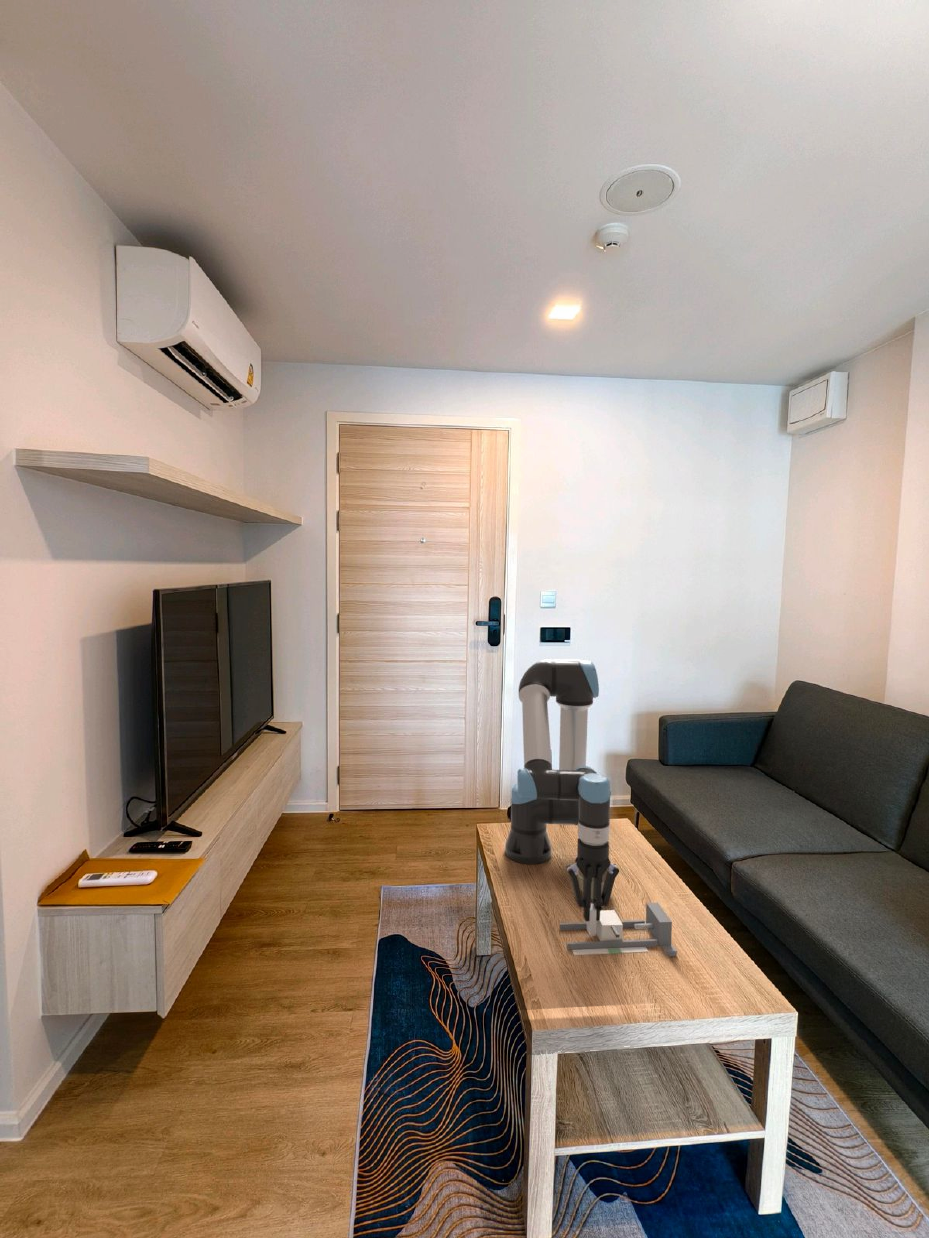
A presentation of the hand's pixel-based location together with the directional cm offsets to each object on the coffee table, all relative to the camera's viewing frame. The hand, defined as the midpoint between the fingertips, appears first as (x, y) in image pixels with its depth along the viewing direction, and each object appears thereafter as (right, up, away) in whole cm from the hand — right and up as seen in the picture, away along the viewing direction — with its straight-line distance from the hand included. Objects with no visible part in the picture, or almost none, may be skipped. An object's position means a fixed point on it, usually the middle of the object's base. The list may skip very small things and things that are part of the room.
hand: (591, 932), depth 135 cm
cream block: (+4, -2, -1) cm, 5 cm away
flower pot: (+6, -2, +20) cm, 20 cm away
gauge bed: (+5, -3, +1) cm, 6 cm away
